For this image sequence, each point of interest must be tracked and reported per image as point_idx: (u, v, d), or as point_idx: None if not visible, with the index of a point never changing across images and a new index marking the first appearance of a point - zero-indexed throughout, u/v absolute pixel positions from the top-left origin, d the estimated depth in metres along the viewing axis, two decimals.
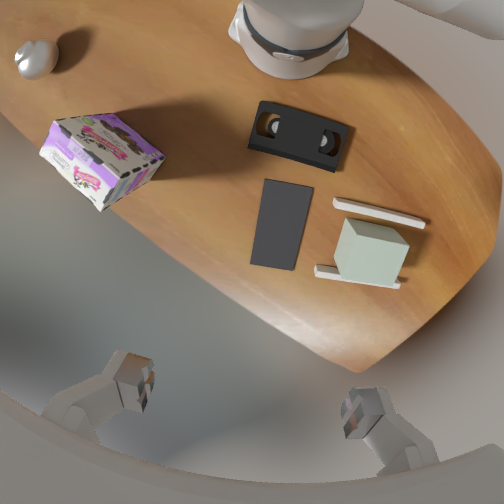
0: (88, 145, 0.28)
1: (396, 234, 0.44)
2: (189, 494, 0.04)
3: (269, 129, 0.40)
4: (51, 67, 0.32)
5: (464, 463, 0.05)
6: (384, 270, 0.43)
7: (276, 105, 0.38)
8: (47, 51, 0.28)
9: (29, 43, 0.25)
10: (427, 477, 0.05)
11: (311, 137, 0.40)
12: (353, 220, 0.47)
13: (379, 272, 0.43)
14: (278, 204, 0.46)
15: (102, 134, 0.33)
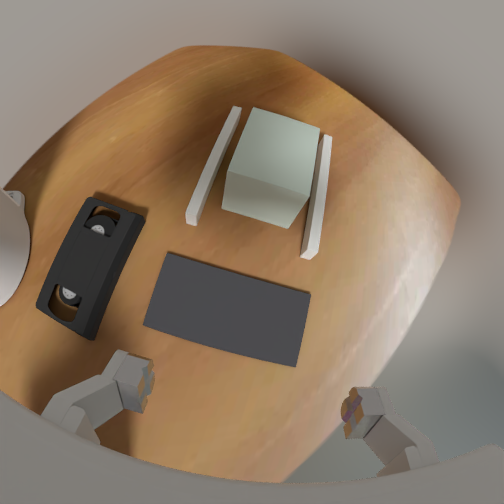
0: None
1: None
2: (189, 494, 0.04)
3: (70, 302, 0.24)
4: None
5: (464, 463, 0.05)
6: (292, 136, 0.28)
7: (44, 286, 0.24)
8: None
9: None
10: (427, 477, 0.05)
11: (89, 244, 0.26)
12: None
13: (296, 143, 0.28)
14: (188, 308, 0.27)
15: None
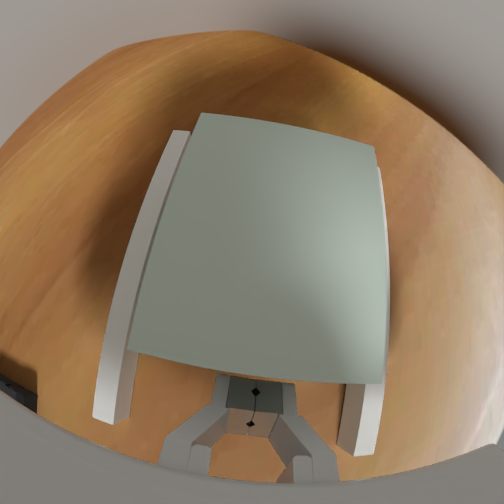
0: None
1: None
2: (189, 494, 0.04)
3: None
4: None
5: (464, 463, 0.05)
6: (314, 182, 0.10)
7: None
8: None
9: None
10: (427, 477, 0.05)
11: None
12: None
13: (328, 203, 0.10)
14: None
15: None
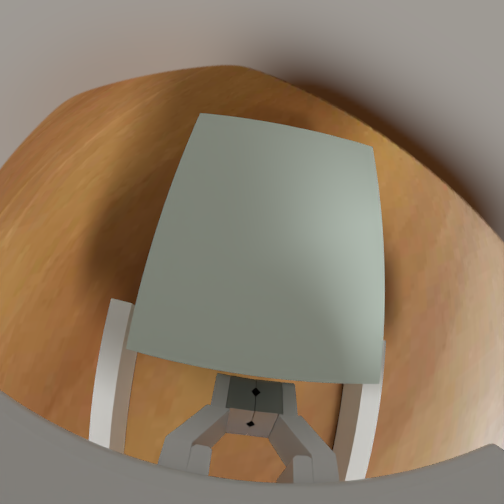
0: None
1: None
2: (189, 494, 0.04)
3: None
4: None
5: (464, 463, 0.05)
6: (312, 182, 0.10)
7: None
8: None
9: None
10: (427, 477, 0.05)
11: None
12: None
13: (326, 204, 0.10)
14: None
15: None
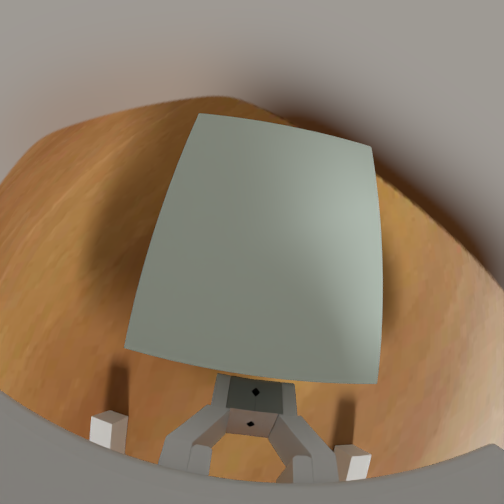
0: None
1: None
2: (189, 494, 0.04)
3: None
4: None
5: (464, 463, 0.05)
6: (310, 182, 0.10)
7: None
8: None
9: None
10: (427, 477, 0.05)
11: None
12: None
13: (324, 204, 0.10)
14: None
15: None
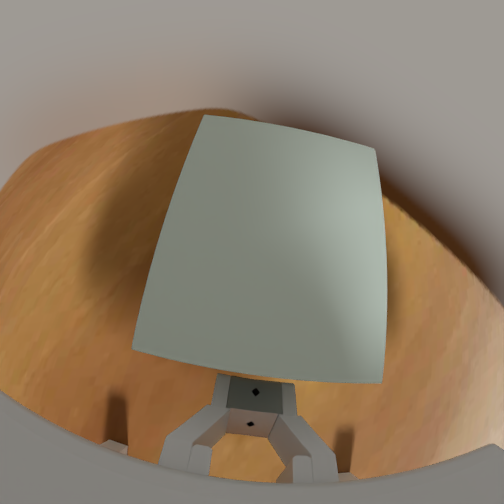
0: None
1: None
2: (189, 494, 0.04)
3: None
4: None
5: (464, 463, 0.05)
6: (316, 184, 0.10)
7: None
8: None
9: None
10: (427, 477, 0.05)
11: None
12: None
13: (329, 205, 0.10)
14: None
15: None
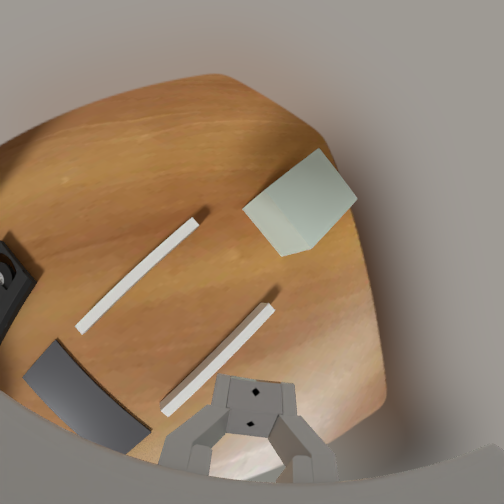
0: None
1: None
2: (189, 494, 0.04)
3: None
4: None
5: (464, 463, 0.05)
6: (331, 192, 0.32)
7: None
8: None
9: None
10: (427, 477, 0.05)
11: None
12: None
13: (330, 200, 0.32)
14: (55, 388, 0.24)
15: None
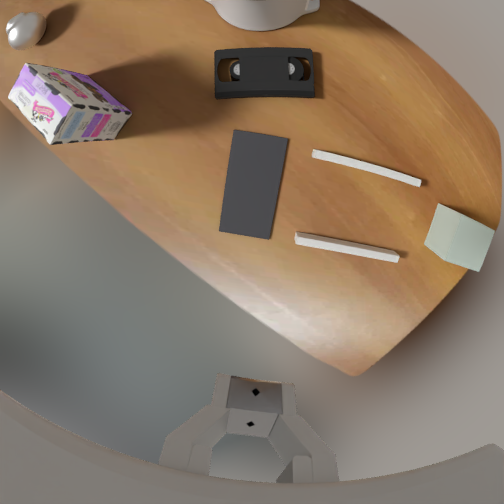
0: (50, 81, 0.22)
1: None
2: (189, 494, 0.04)
3: (232, 73, 0.34)
4: (37, 37, 0.28)
5: (464, 463, 0.05)
6: (475, 253, 0.36)
7: (231, 50, 0.33)
8: (35, 21, 0.24)
9: (20, 14, 0.21)
10: (427, 477, 0.05)
11: (277, 68, 0.34)
12: (444, 206, 0.40)
13: (472, 255, 0.36)
14: (249, 158, 0.40)
15: (68, 80, 0.27)
